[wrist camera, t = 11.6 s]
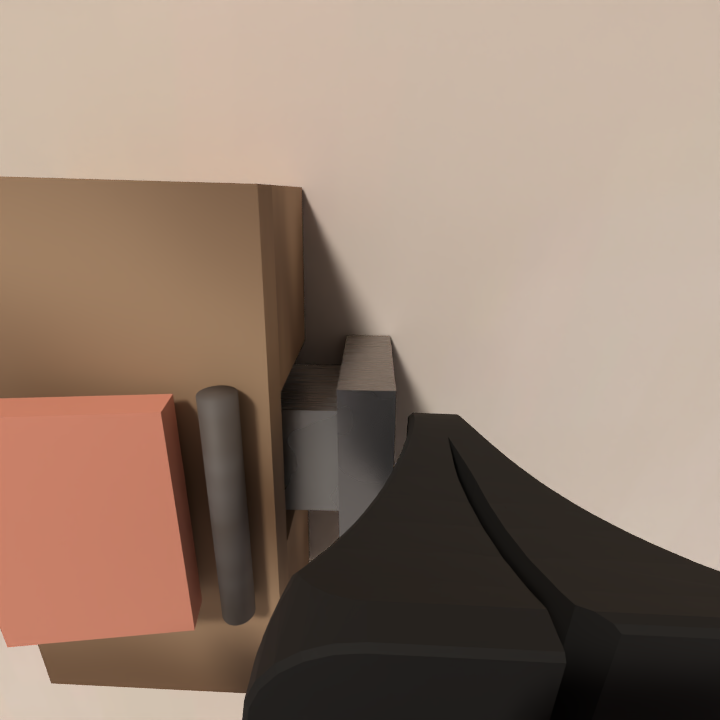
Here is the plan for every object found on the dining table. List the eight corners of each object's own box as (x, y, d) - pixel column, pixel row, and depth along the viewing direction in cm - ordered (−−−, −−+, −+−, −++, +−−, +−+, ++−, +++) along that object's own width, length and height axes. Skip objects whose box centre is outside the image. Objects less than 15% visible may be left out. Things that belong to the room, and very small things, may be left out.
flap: (194, 630, 9) (7, 647, 8) (202, 600, 9) (28, 614, 9) (160, 412, 7) (-80, 419, 7) (172, 393, 8) (-46, 399, 7)
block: (309, 558, 15) (278, 729, 10) (138, 550, 15) (29, 716, 10) (302, 187, 11) (243, 183, 6) (63, 181, 11) (-183, 170, 6)
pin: (386, 474, 14) (389, 565, 10) (100, 468, 14) (14, 555, 11) (390, 335, 12) (396, 390, 9) (66, 331, 12) (-50, 383, 9)
